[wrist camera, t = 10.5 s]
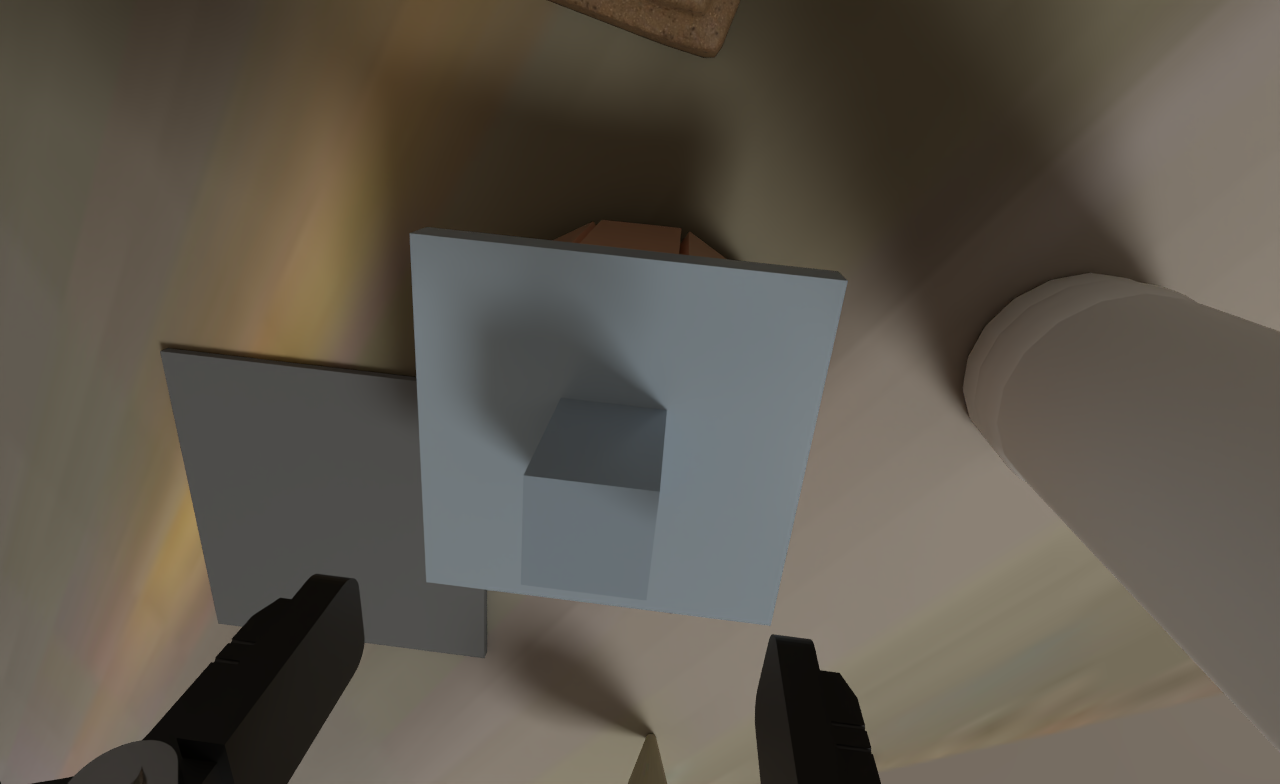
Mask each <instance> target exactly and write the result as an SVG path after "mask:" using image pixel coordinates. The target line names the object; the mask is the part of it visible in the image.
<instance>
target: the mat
mask: <svg viewBox="0 0 1280 784" xmlns="http://www.w3.org/2000/svg"><path fill="white" fill-rule="evenodd" d="M160 353H161V358H162V362H163V367H164V372H165V376H166V381H167V386H168V390H169V395H170V400H171V404H172V409H173V414H174V418H175V423H176V428H177V432H178V437H179V442H180V446H181V451H182V456H183V460H184V465H185V470H186V474H187V479H188V484H189V488H190V493H191V498H192V502H193V507H194V512H195V516H196V521H197V526H198V530H199V535H200V540H201V544H202V549H203V554H204V558H205V563H206V568H207V572H208V577H209V582H210V586H211V591H212V596H213V600H214V605H215V610H216V614H217V619H218V623H219V624H226V625H234V626H242V627H243V626H244V625H245V623H246V622H247V621H248V620H249V619H250V618H251V617H252V616H253V615H254V614H256V613H257V612H259V611H260V610H262V609H263V608H265V607H267V606H268V605H270V604H271V603H273V602H274V601H276V600H277V599H279V598H287V599H292V598H293V597H294V595H295V594H296V593H297V592H298V591H299V589H300V588H301V587H302V586H303V585H304V583H305V582H306V581H307V580H308V579H309V578H310V577H311V576H312V575H314V574H324V575H332V576H339V577H347V578H354V579H356V580H357V582H358V584H359V590H360V599H361V608H362V617H363V627H364V636H365V641H364V643H372V644H379V645H387V646H395V647H402V648H410V649H418V650H425V651H433V652H441V653H448V654H456V655H464V656H471V657H479V658H485V656H486V653H487V590H485V589H477V588H469V587H461V586H453V585H445V584H438V583H430V582H426V565H425V544H424V523H423V503H422V482H421V461H420V440H419V419H418V398H417V378H416V377H410V376H401V375H393V374H384V373H376V372H367V371H359V370H350V369H341V368H333V367H324V366H316V365H307V364H298V363H290V362H281V361H273V360H264V359H255V358H247V357H238V356H230V355H221V354H212V353H204V352H195V351H187V350H178V349H170V348H167V349H164V350H162V351H160Z"/></svg>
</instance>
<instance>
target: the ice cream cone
mask: <svg viewBox="0 0 1280 784" xmlns="http://www.w3.org/2000/svg"><path fill="white" fill-rule="evenodd" d="M628 784H667V781H666V777H665V773H664V768H663V764H662V760H661V756H660V752H659V748H658V744H657V740H656V736H655V735H654V734H648V735H647V737H646V739H645V742H644V744H643V747H642V749H641V752H640V754H639V757H638V759H637V762H636V764H635V767H634V769H633V772H632V774H631V777H630V779H629V782H628Z"/></svg>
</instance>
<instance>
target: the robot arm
mask: <svg viewBox="0 0 1280 784" xmlns="http://www.w3.org/2000/svg"><path fill="white" fill-rule="evenodd" d="M364 641H365V636H364V627H363V617H362V608H361V599H360V590H359V584H358V582H357V580H356V579H354V578H347V577H339V576H332V575H324V574H314V575H312V576H311V577H310V578H309V579H308V580H307V581H306V582H305V583H304V585H303V586H302V587H301V588H300V589H299V591H298V592H297V593H296V594H295V595H294V597H293V598H292V599H287V598H279V599H277V600H276V601H274V602H273V603H271V604H270V605H268V606H267V607H265V608H263V609H262V610H260V611H259V612H257V613H256V614H254V615H253V616H252V617H251V618H250V619H249V620H248V621H247V622H246V623H245V625H244V626H243V627H242V628H241V629H240V630H239V631H238V633H237V634H236V635H235V636H234V637H233V638H232V642H231V643H228V644H227V645H226V646H225V647H224V648H223V650H222V651H221V652H220V653H219V654H218V655H217V656H216V659H215V661H214V663H212V662H211V663H210V664H209V666H208V667H207V668H206V669H205V670H204V671H203V672H202V673H201V675H200V676H199V677H198V678H197V679H196V680H195V681H194V683H193V684H192V685H191V686H190V687H189V688H188V689H187V691H186V692H185V693H184V694H183V695H182V696H181V697H180V698H179V700H178V701H177V702H176V703H175V704H174V705H173V706H172V708H171V709H170V710H169V711H168V712H167V713H166V714H165V716H164V717H163V718H162V719H161V720H160V721H159V722H158V723H157V725H156V726H155V727H154V728H153V729H152V730H151V731H150V733H149V734H148V735H147V736H146V737H145V738H144V739H143V740H142V741H136V742H131V743H128V744H124V745H121V746H119V747H117V748H114V749H112V750H110V751H108V752H106V753H104V754H102V755H100V756H99V757H97V758H96V759H94V760H93V761H91V762H90V763H89V764H87V765H86V766H85V767H83V768H82V769H81V770H80V771H79V772H78V773H77V774H76V775H75V776H73V777H69V778H63V779H57V780H51V781H45V782H39V783H33V784H288V782H289V780H290V779H291V777H292V775H293V774H294V772H295V770H296V769H297V767H298V765H299V764H300V762H301V761H302V759H303V757H304V756H305V754H306V752H307V751H308V749H309V747H310V746H311V744H312V742H313V741H314V739H315V737H316V736H317V734H318V733H319V731H320V729H321V728H322V726H323V724H324V723H325V721H326V719H327V718H328V716H329V714H330V713H331V711H332V709H333V708H334V706H335V705H336V703H337V701H338V700H339V698H340V696H341V695H342V693H343V691H344V690H345V688H346V686H347V685H348V683H349V681H350V680H351V678H352V677H353V675H354V673H355V671H356V670H357V668H358V665H359V663H360V660H361V657H362V653H363V649H364ZM755 729H756V739H757V749H758V760H759V770H760V780H761V784H881V782H880V778H879V774H878V771H877V767H876V764H875V760H874V756H873V754H871V746H870V742H869V738H868V735H867V731H865V724H864V720H863V717H862V713H861V709H860V706H859V702H858V699H857V697H856V695H855V694H854V693H853V691H852V690H851V688H850V687H849V686H848V684H847V683H846V681H845V680H844V679H843V677H842V676H841V674H840V673H836V672H828V671H821V670H820V669H819V664H818V660H817V655H816V651H815V647H814V644H813V641H812V640H811V639H804V638H797V637H789V636H781V635H773V634H772V635H771V637H770V639H769V642H768V647H767V651H766V655H765V659H764V664H763V668H762V672H761V677H760V681H759V685H758V689H757V695H756V704H755ZM0 784H1V782H0Z"/></svg>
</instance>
